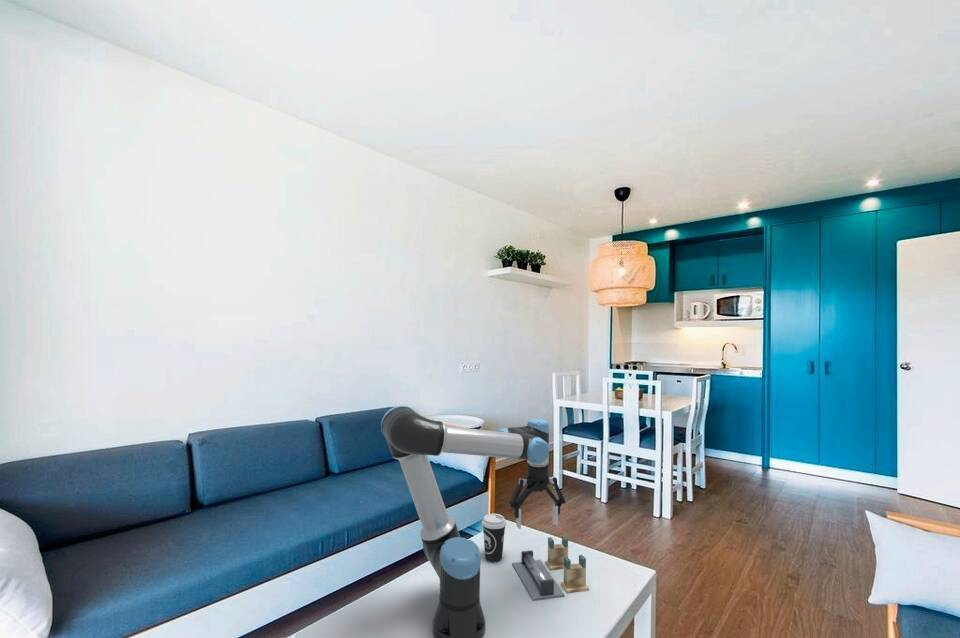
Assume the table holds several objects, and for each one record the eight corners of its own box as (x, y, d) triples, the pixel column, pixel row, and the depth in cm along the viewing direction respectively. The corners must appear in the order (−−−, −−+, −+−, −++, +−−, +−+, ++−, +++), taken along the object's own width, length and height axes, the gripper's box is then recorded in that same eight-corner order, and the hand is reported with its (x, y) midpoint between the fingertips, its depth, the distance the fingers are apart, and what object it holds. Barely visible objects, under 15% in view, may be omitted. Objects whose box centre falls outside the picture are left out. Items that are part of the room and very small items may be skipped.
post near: (566, 593, 140) (567, 563, 140) (560, 584, 145) (560, 555, 145) (588, 590, 142) (589, 560, 142) (582, 581, 147) (582, 552, 147)
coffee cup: (504, 565, 156) (504, 524, 157) (478, 562, 158) (479, 521, 159) (507, 553, 165) (508, 514, 166) (483, 550, 167) (484, 511, 168)
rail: (553, 594, 138) (553, 581, 138) (541, 596, 137) (541, 582, 137) (532, 561, 158) (532, 550, 158) (521, 563, 157) (521, 551, 157)
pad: (532, 600, 136) (532, 598, 136) (512, 564, 157) (512, 562, 157) (564, 596, 138) (564, 594, 138) (539, 561, 160) (539, 559, 160)
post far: (550, 570, 154) (550, 542, 154) (545, 563, 158) (545, 536, 159) (570, 567, 155) (570, 540, 156) (564, 560, 160) (565, 534, 161)
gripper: (507, 469, 143) (506, 533, 142) (575, 465, 148) (574, 526, 148) (500, 462, 150) (499, 523, 149) (566, 459, 156) (565, 517, 155)
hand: (537, 525), depth 148 cm, fingers open, 13 cm apart
